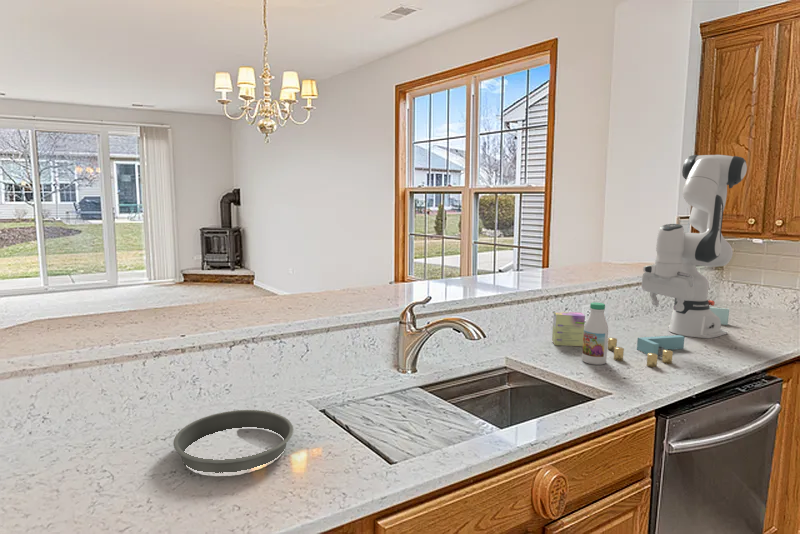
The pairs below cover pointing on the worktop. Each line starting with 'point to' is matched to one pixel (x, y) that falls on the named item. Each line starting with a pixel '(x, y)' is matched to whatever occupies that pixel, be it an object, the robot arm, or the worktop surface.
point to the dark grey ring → (228, 422)
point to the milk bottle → (595, 336)
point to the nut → (660, 350)
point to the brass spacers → (650, 357)
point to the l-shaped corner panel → (721, 314)
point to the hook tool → (660, 343)
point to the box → (568, 328)
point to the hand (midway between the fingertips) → (665, 307)
